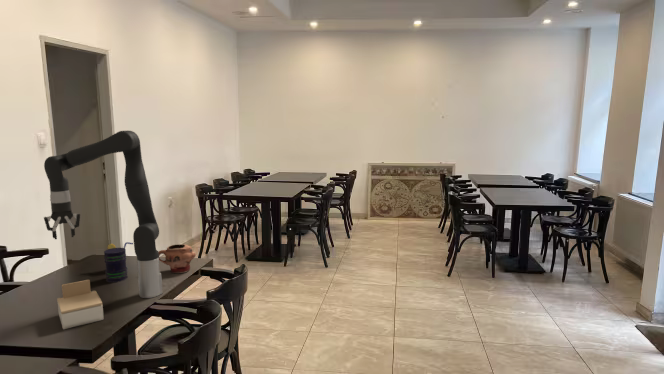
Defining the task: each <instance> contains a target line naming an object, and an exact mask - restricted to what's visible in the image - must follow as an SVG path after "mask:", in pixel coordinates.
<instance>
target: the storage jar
mask: <svg viewBox="0 0 664 374" xmlns="http://www.w3.org/2000/svg"><path fill="white" fill-rule="evenodd" d="M125 249H126V247H125V248H124V247H116V248H112V249H105V250H104V251H103V253H104V256H103V258H104V263H105V271H104V272H105V278H106V282H108V283H118V281H119V282H122V281H125V280H127V279H128V267H127V262H126V261H127V253H126V252H125Z"/></svg>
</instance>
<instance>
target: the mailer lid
mask: <svg viewBox="0 0 664 374" xmlns="http://www.w3.org/2000/svg"><path fill="white" fill-rule="evenodd" d="M61 290H62V297H57V299H56V301H57V305H58V304H59V307H60V310H61V314H63V313H68V312H72V311H76V310H81V309H85V308H90V307H94V306H99V305H103V301H102V299H101V298H100V296H99V294H98V293H97V291H96V290H92V291H91V280H90V279H85V280H80V281H75V282H73V281H72V282H69V283H65V284H61Z"/></svg>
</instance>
